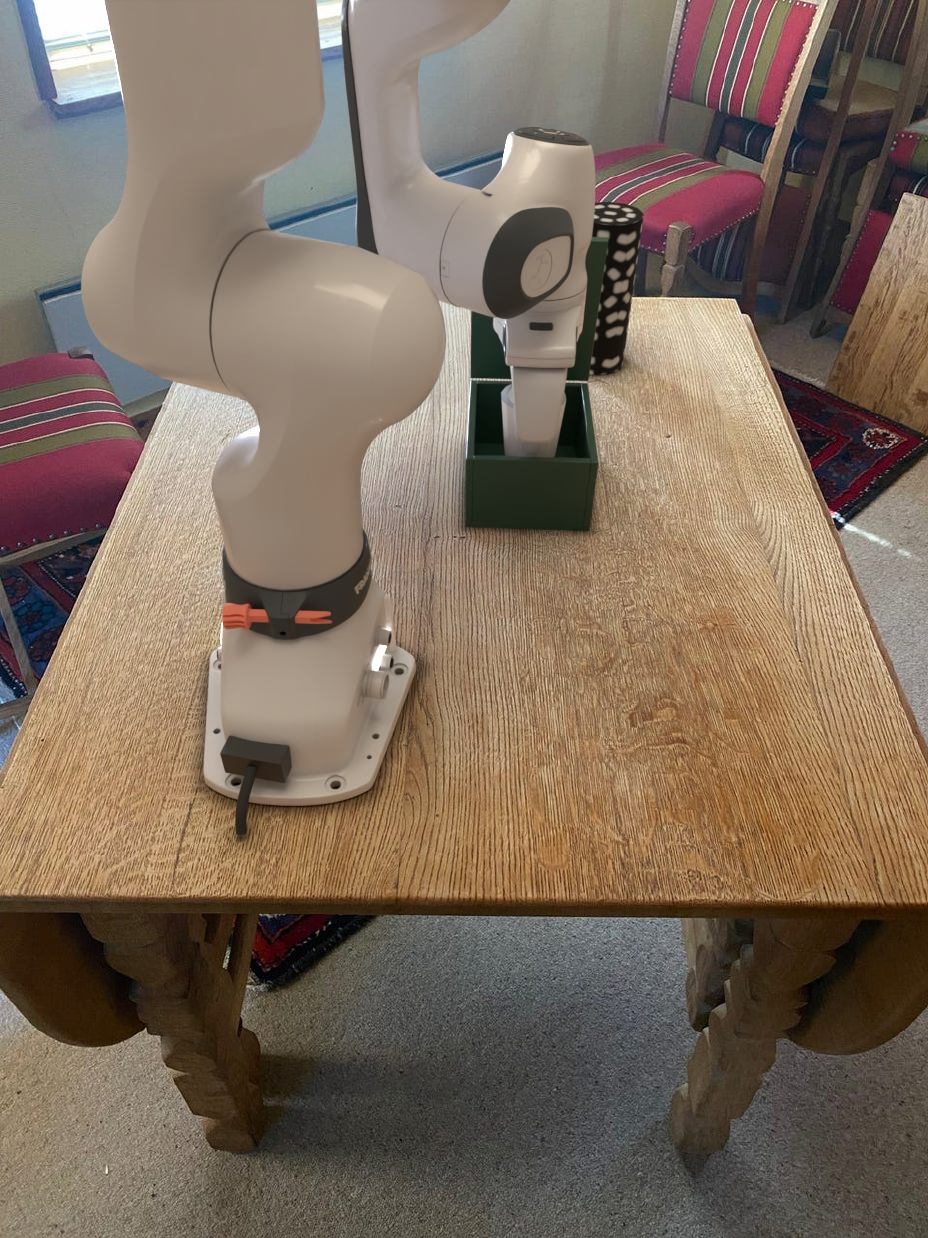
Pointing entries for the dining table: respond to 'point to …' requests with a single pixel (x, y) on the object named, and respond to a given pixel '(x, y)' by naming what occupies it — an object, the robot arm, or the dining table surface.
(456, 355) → the dining table surface
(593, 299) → the lid
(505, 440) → the shot glass
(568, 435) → the chest
